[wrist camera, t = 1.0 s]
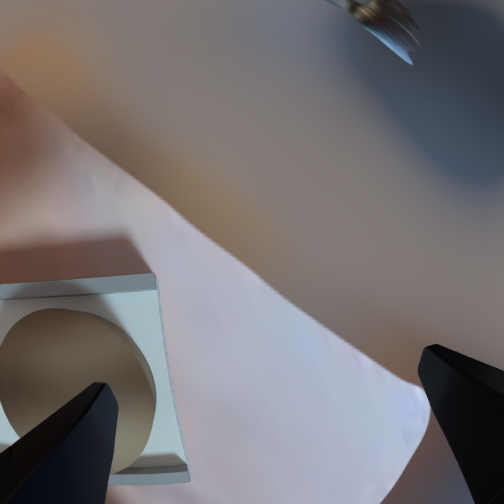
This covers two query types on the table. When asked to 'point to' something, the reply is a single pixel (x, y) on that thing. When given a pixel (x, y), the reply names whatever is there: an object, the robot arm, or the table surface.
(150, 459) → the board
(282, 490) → the table surface
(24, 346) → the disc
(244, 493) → the table surface
